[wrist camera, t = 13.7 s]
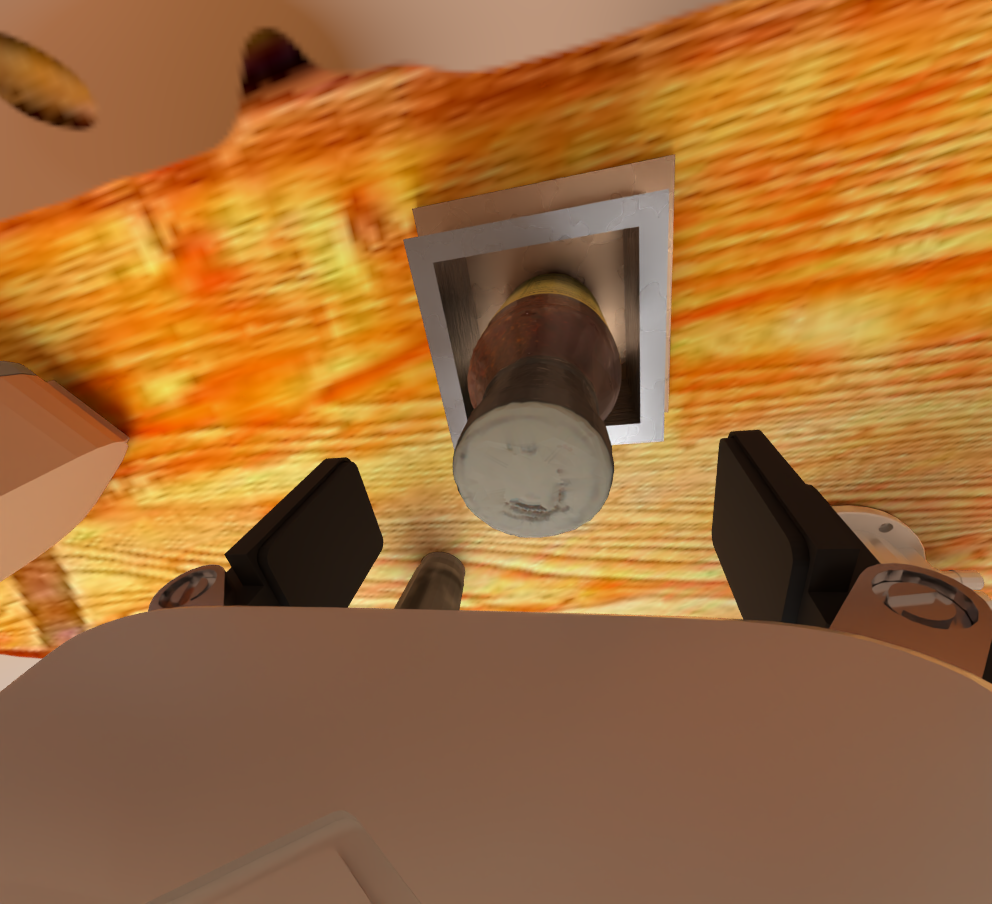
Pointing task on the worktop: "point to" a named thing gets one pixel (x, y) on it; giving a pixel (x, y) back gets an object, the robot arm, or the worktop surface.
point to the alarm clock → (48, 463)
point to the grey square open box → (559, 250)
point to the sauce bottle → (540, 411)
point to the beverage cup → (435, 584)
